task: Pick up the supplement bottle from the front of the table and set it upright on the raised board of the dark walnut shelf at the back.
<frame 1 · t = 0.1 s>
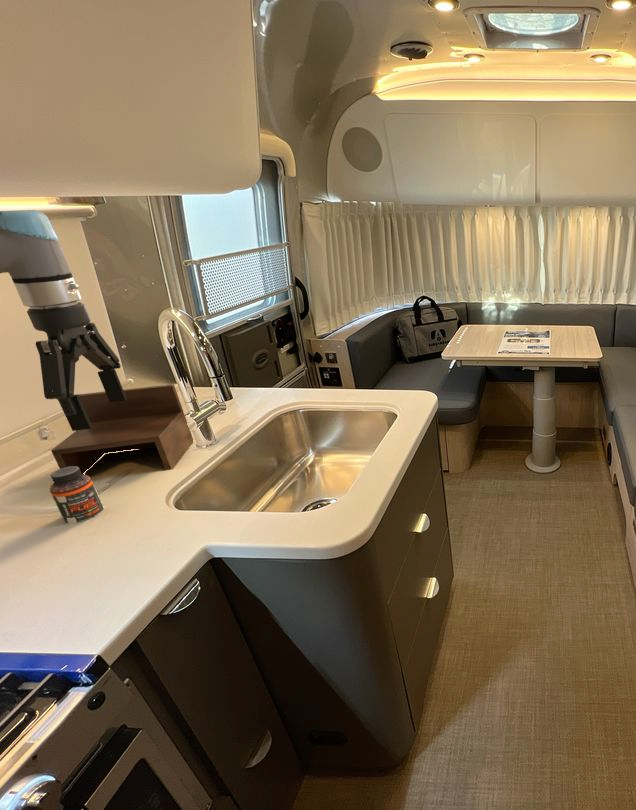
hand: (101, 414, 93), 20 cm above the table, tool pointing down, fingers open, 13 cm apart
supplement bottle: (88, 521, 95), on the table
shelf: (134, 463, 116), on the table
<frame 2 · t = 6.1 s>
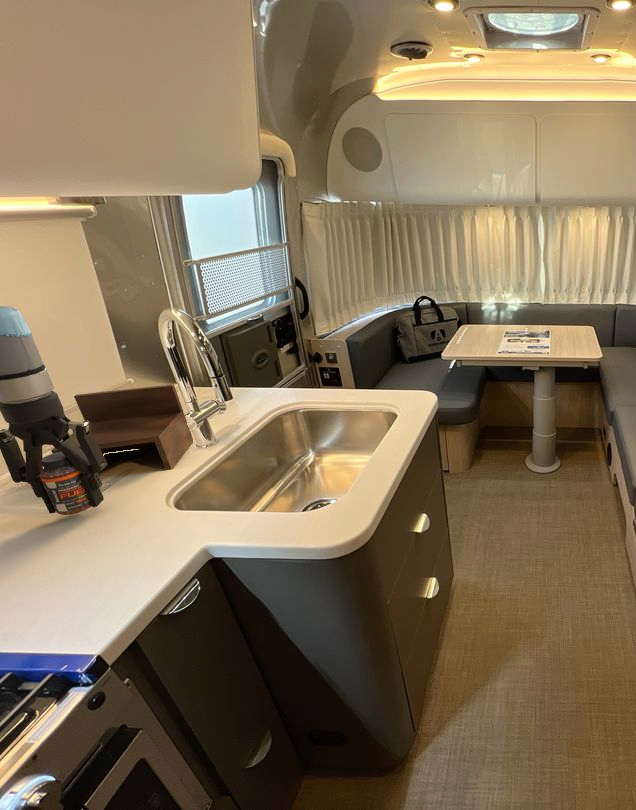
hand: (77, 505, 94), 4 cm above the table, tool pointing down, fingers closed on supplement bottle, 6 cm apart
supplement bottle: (78, 508, 94), point 3 cm above the table, touching gripper
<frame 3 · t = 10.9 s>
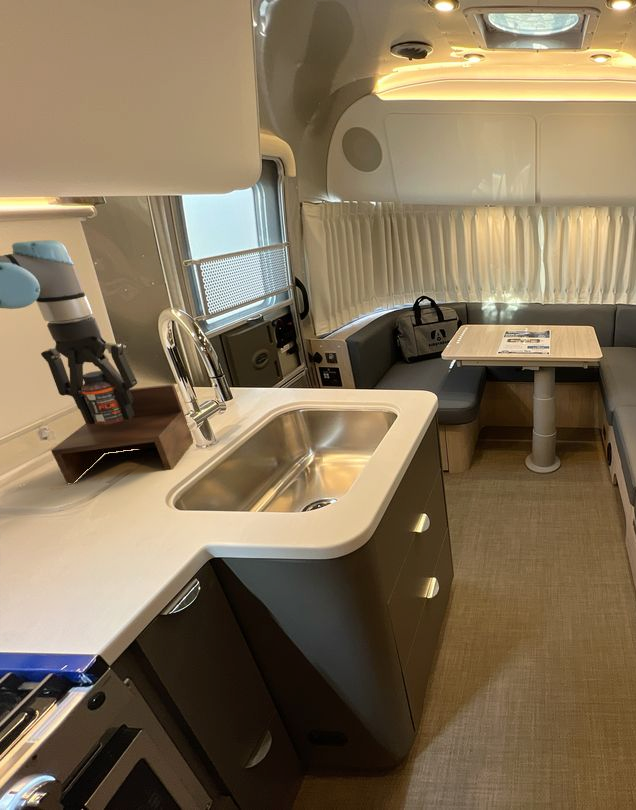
hand: (112, 419, 109), 12 cm above the table, tool pointing down, fingers closed on supplement bottle, 6 cm apart
supplement bottle: (113, 421, 110), point 12 cm above the table, touching gripper
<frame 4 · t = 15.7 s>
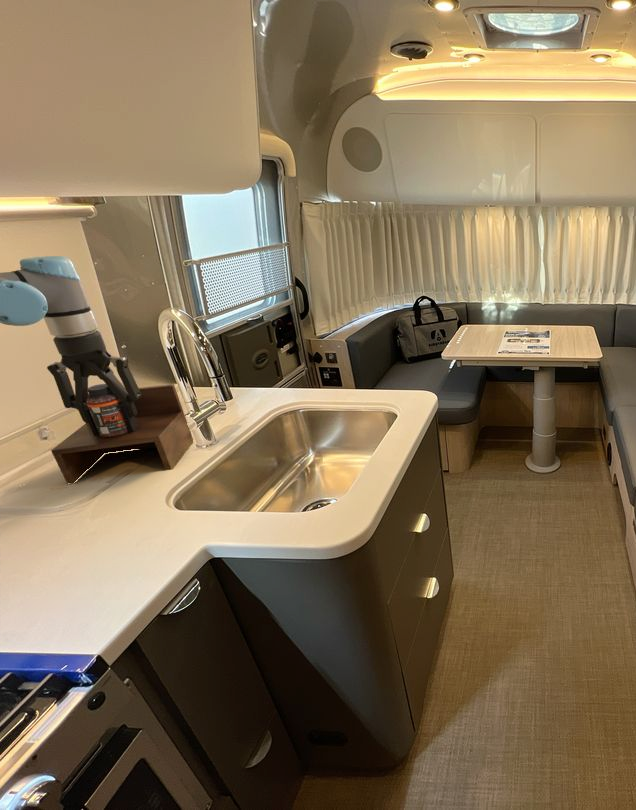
hand: (116, 431, 111), 9 cm above the table, tool pointing down, fingers closed on supplement bottle, 6 cm apart
supplement bottle: (117, 433, 111), point 9 cm above the table, touching gripper
when the fingers open (10 cm above the table, at t = 16.0 s): supplement bottle stays where it is, resting on shelf.
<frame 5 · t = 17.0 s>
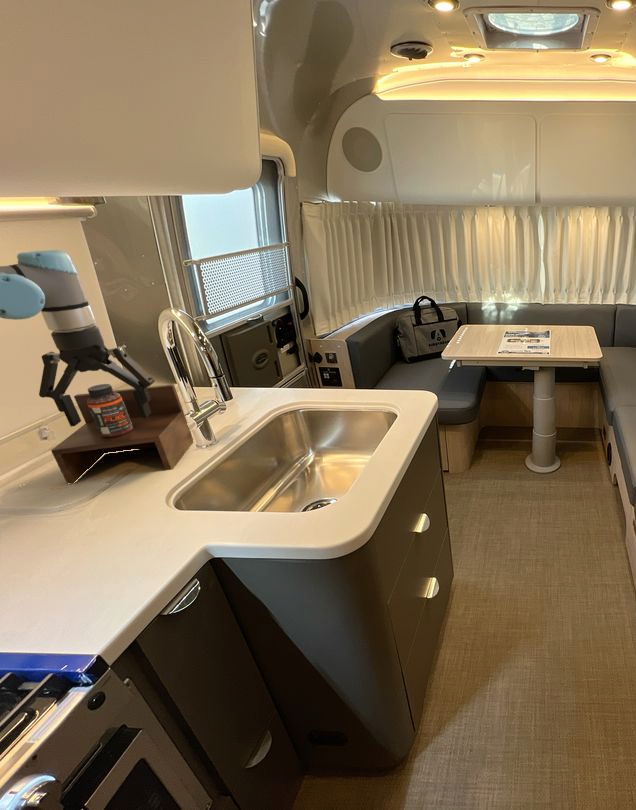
hand: (112, 419, 109), 12 cm above the table, tool pointing down, fingers open, 13 cm apart
supplement bottle: (118, 433, 111), point 9 cm above the table, touching shelf
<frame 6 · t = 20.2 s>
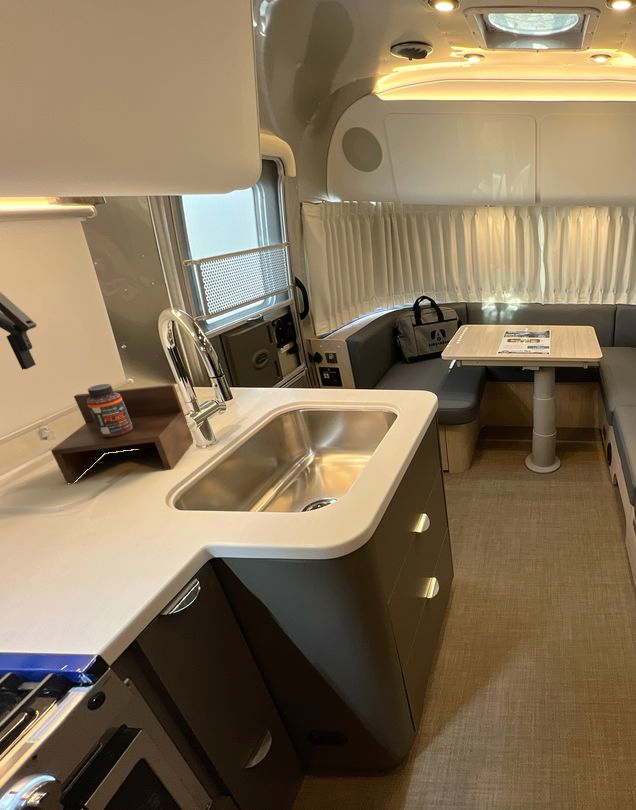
nothing on the table moved.
at the end: supplement bottle inside the target area on the shelf (0.6 cm from its centre), point 8.8 cm above the shelf's base; supplement bottle tilted 0°; the gripper is holding nothing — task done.
